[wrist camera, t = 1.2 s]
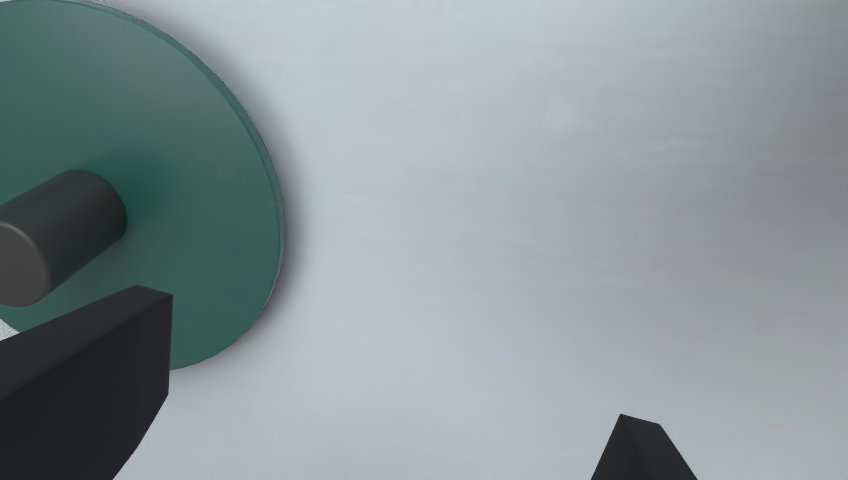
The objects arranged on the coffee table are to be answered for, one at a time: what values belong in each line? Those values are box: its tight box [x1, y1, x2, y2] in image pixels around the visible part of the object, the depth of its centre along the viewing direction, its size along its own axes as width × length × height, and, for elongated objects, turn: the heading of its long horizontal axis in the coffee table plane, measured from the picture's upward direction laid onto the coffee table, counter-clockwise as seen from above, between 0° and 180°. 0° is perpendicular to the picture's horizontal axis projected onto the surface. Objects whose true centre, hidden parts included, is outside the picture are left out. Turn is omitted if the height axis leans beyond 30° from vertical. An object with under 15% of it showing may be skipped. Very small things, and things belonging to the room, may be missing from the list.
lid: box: [0, 0, 285, 370], centre depth 18 cm, size 11×11×5 cm
